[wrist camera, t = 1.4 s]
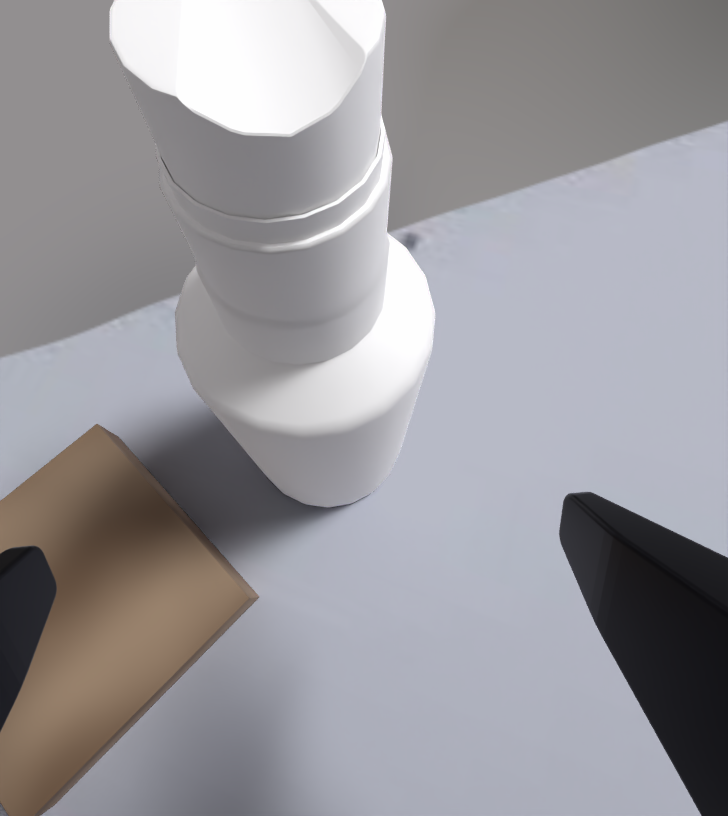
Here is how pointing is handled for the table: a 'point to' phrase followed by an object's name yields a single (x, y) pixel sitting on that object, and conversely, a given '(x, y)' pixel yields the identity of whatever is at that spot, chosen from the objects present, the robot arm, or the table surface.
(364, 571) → the table surface
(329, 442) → the spray bottle
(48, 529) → the brown flat square block
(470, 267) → the table surface
